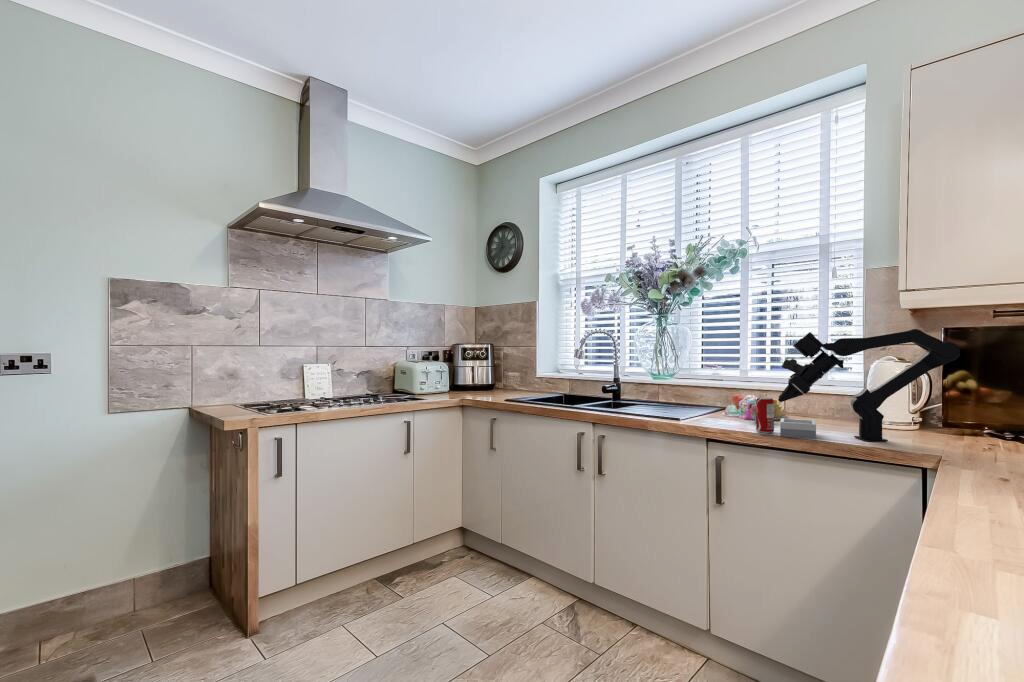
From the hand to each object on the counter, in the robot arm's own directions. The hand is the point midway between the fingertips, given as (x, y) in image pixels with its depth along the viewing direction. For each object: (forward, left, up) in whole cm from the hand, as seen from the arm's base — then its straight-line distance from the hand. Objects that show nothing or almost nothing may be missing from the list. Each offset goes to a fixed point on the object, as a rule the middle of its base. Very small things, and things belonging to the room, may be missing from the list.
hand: (779, 399), depth 168 cm
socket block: (-3, -4, -11) cm, 13 cm away
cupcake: (+22, -3, -11) cm, 25 cm away
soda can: (+2, +4, -11) cm, 12 cm away
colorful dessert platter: (+40, -7, -12) cm, 42 cm away
